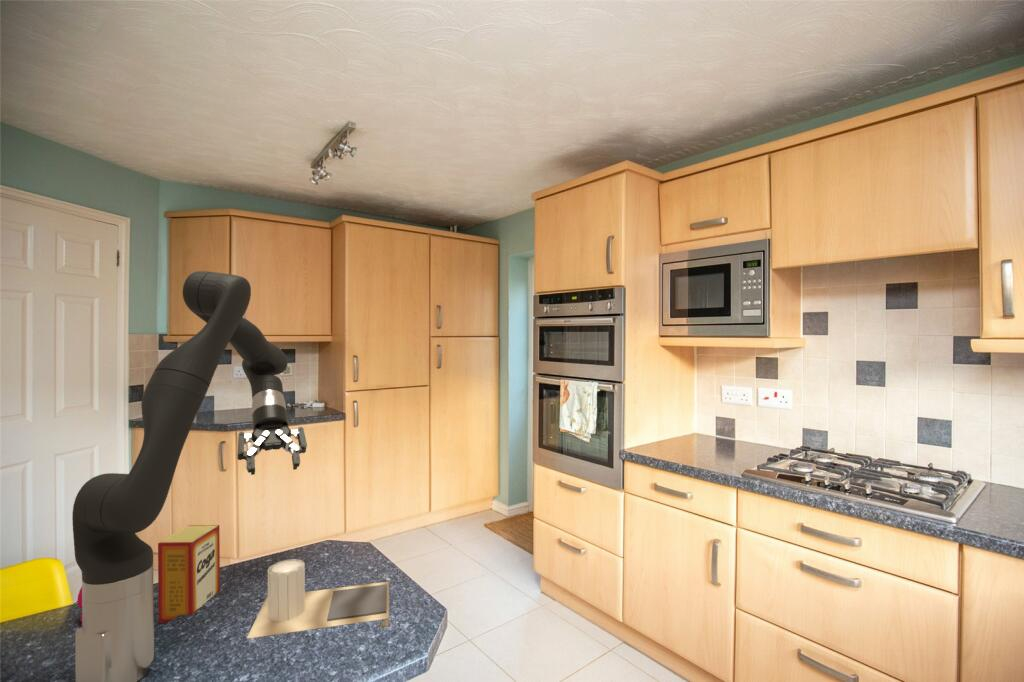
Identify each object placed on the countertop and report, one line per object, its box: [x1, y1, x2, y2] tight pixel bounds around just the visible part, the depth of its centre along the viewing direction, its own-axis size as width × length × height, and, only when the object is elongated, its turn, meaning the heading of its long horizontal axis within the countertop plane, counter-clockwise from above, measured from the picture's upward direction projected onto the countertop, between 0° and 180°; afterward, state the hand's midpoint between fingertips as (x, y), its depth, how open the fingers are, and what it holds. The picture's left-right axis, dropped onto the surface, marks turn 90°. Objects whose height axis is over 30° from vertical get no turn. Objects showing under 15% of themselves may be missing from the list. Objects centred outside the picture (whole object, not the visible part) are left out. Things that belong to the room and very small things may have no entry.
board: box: [246, 581, 390, 640], centre depth 98 cm, size 25×15×2 cm, turn 104°
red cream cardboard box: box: [157, 524, 221, 623], centre depth 101 cm, size 10×6×16 cm
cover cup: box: [267, 558, 306, 621], centre depth 97 cm, size 6×6×9 cm
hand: (274, 470), depth 109 cm, fingers open, 8 cm apart
